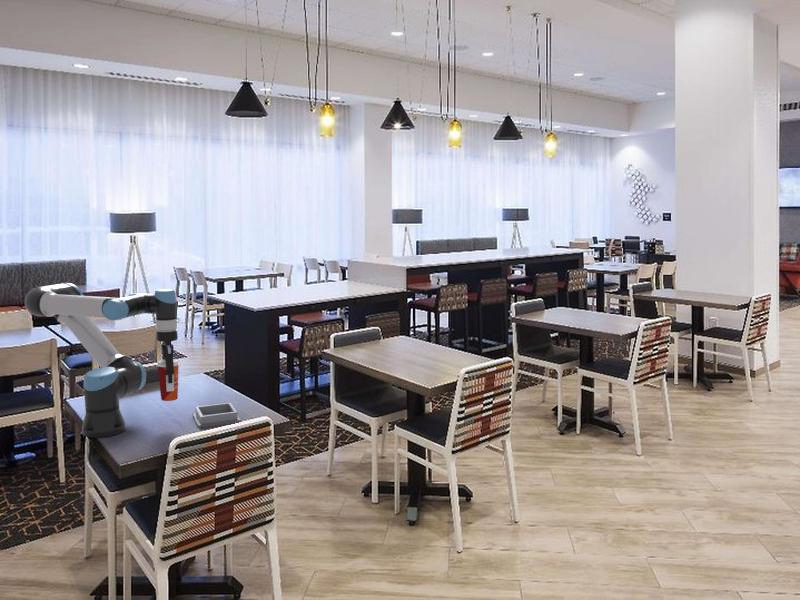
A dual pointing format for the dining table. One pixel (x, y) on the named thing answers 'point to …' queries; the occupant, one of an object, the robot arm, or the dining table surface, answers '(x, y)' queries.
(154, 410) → the dining table surface
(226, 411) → the tray
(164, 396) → the coffee cup
